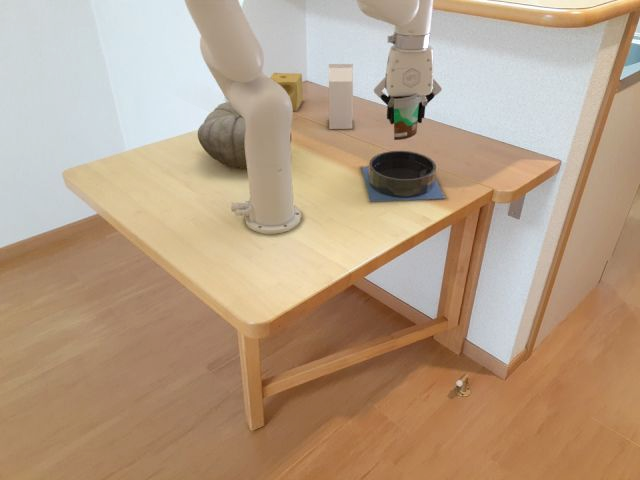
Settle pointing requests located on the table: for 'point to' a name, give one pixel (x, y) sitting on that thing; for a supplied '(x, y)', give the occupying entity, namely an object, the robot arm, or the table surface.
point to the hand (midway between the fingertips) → (405, 120)
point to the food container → (406, 116)
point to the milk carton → (340, 96)
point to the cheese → (291, 86)
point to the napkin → (379, 197)
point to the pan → (401, 174)
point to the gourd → (224, 136)
